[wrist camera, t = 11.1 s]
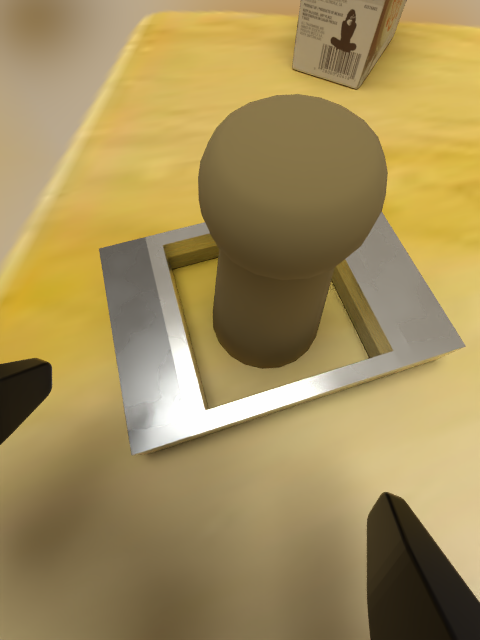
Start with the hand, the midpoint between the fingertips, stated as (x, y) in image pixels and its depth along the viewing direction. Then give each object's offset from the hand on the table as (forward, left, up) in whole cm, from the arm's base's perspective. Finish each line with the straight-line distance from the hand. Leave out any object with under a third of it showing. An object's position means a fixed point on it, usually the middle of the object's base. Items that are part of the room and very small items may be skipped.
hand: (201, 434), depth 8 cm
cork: (+4, +6, -8) cm, 11 cm away
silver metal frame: (+4, +6, -8) cm, 11 cm away
